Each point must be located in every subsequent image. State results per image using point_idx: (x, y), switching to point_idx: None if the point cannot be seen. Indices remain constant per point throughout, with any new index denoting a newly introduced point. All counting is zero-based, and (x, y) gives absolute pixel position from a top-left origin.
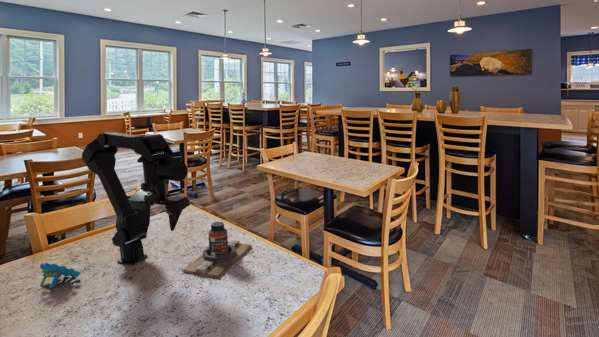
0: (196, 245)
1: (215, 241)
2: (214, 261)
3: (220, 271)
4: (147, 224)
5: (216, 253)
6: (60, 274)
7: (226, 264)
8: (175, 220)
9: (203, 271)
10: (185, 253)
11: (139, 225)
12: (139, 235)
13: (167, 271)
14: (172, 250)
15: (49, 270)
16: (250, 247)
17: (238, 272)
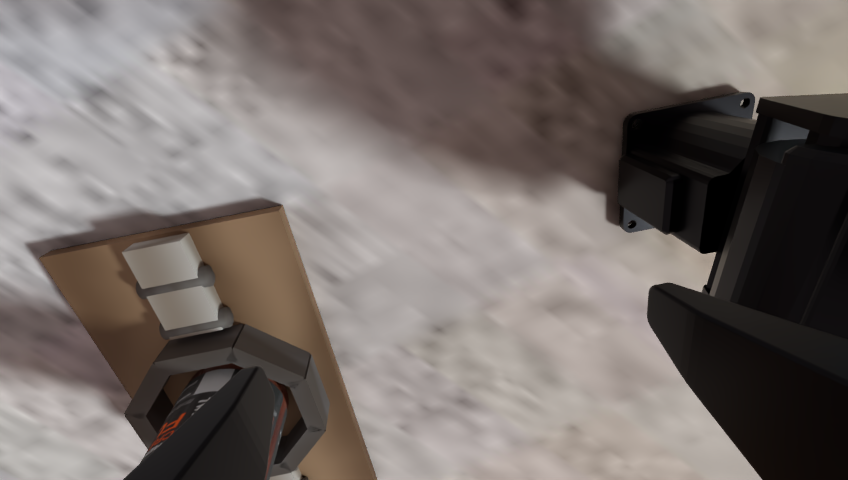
0: (467, 415)
1: None
2: (179, 344)
3: (75, 296)
4: (671, 323)
5: (188, 393)
6: None
7: (126, 358)
8: None
9: (133, 246)
10: (450, 342)
11: (808, 304)
12: (727, 246)
13: (369, 167)
14: (540, 332)
15: None
16: None
17: (27, 340)
